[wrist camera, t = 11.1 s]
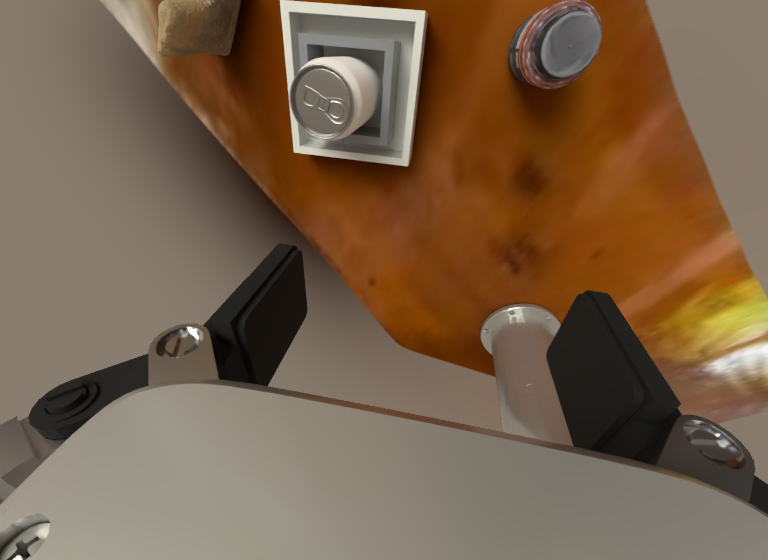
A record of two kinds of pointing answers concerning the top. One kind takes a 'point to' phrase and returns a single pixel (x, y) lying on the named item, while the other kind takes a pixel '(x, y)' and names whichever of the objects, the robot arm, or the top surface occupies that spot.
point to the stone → (197, 26)
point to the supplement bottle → (556, 44)
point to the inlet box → (381, 49)
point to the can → (335, 96)
